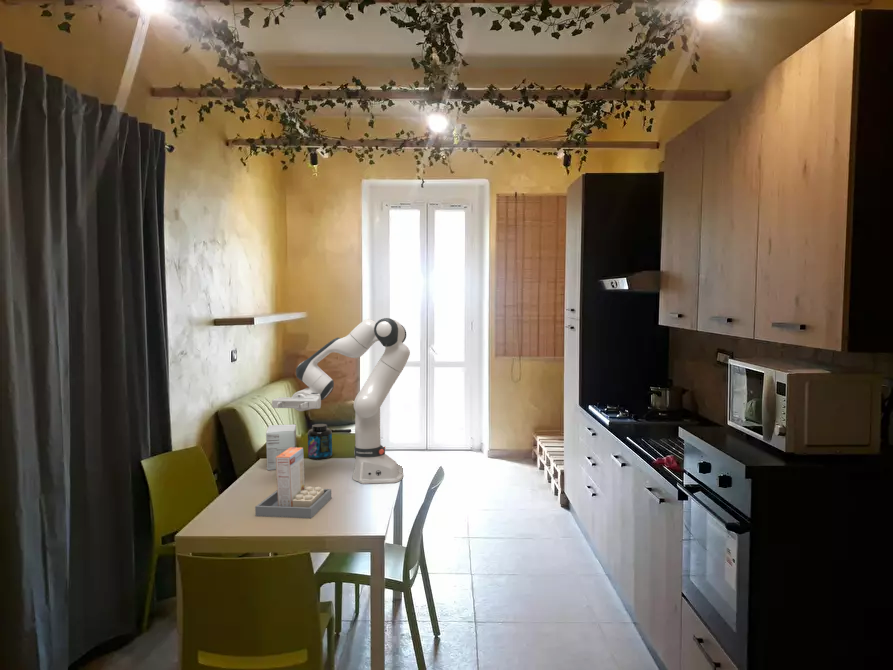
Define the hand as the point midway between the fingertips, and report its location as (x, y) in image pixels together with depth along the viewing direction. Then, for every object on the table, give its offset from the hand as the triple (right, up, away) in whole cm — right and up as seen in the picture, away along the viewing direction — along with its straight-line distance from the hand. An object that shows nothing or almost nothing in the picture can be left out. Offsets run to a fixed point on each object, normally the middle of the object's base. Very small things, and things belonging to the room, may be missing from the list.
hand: (289, 406), depth 247 cm
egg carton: (+14, -35, -23) cm, 44 cm away
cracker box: (+7, -35, -22) cm, 42 cm away
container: (+2, -32, +53) cm, 62 cm away
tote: (+8, -36, -22) cm, 43 cm away
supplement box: (-14, -33, +40) cm, 53 cm away
